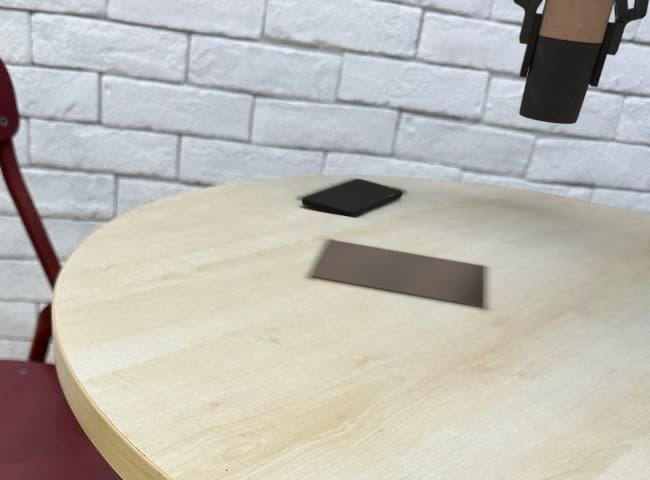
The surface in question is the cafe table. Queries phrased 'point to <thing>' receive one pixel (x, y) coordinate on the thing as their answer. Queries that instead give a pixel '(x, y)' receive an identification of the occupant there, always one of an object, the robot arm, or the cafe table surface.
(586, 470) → the cafe table surface
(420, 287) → the coaster board
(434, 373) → the cafe table surface
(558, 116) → the travel mug
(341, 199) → the smartphone
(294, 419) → the cafe table surface
